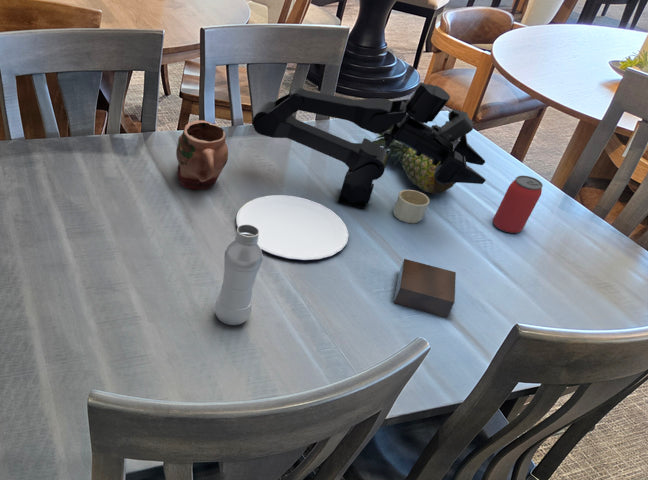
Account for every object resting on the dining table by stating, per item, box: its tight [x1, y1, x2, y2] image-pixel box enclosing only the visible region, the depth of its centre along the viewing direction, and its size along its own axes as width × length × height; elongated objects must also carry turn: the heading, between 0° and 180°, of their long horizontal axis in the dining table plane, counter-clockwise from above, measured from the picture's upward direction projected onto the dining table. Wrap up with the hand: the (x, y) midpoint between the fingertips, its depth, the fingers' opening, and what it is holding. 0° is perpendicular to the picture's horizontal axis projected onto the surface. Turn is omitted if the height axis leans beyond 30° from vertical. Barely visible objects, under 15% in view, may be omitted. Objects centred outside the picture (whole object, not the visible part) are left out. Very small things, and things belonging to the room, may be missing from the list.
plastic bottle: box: [214, 225, 264, 326], centre depth 111 cm, size 6×7×20 cm
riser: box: [393, 258, 457, 318], centre depth 125 cm, size 10×10×4 cm
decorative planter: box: [175, 119, 229, 190], centre depth 150 cm, size 20×12×14 cm, turn 13°
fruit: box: [371, 125, 456, 195], centre depth 162 cm, size 14×12×30 cm
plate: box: [235, 194, 349, 261], centre depth 141 cm, size 25×25×1 cm
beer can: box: [492, 175, 544, 234], centre depth 143 cm, size 7×7×12 cm
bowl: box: [393, 189, 431, 224], centre depth 147 cm, size 7×7×5 cm
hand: (484, 172), depth 136 cm, fingers open, 9 cm apart
